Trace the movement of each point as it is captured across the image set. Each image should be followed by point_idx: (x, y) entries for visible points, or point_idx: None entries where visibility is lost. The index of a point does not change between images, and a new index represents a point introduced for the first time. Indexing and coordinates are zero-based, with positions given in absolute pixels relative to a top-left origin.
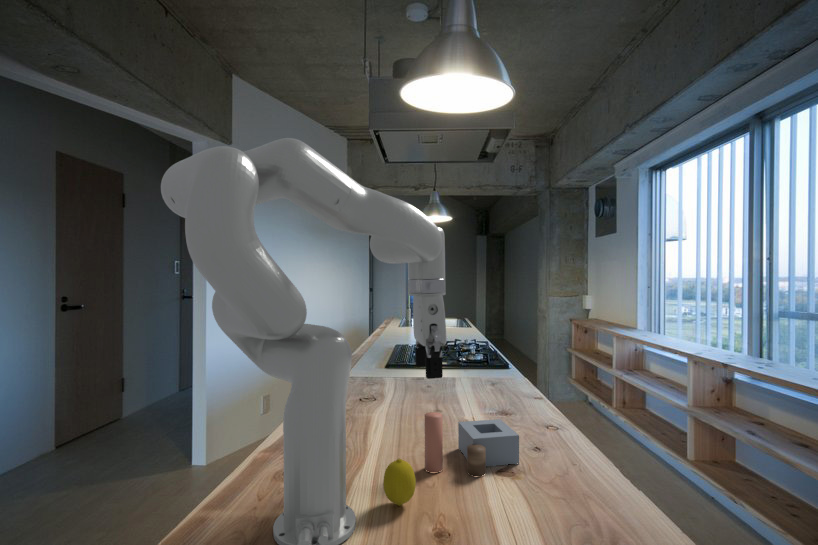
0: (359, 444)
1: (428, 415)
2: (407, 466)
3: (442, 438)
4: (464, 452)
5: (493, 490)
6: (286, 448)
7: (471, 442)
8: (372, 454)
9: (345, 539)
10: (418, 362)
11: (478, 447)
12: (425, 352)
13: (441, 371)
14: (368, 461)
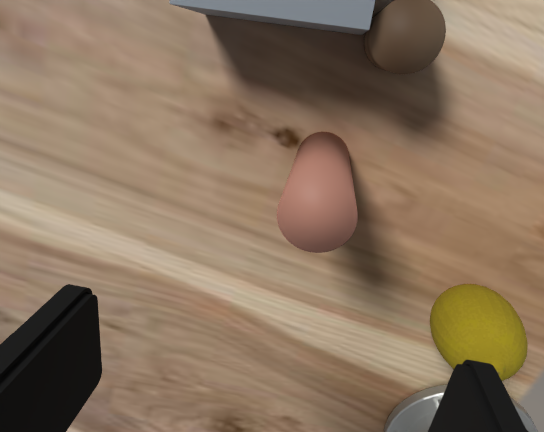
0: (115, 282)
1: (311, 236)
2: (516, 349)
3: (337, 158)
4: (270, 22)
5: (517, 41)
6: None
7: (348, 28)
8: (183, 272)
9: (527, 413)
10: (84, 392)
11: (407, 25)
12: (22, 419)
13: (508, 406)
14: (221, 291)
